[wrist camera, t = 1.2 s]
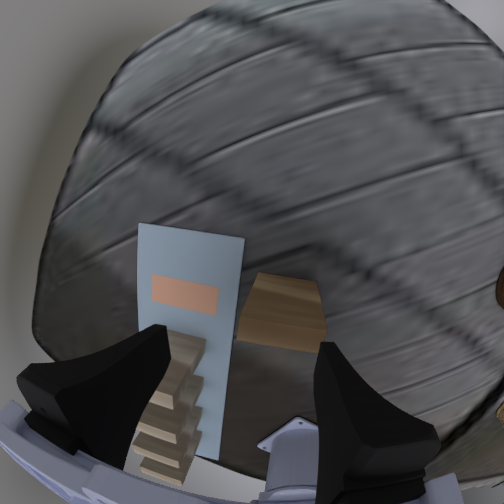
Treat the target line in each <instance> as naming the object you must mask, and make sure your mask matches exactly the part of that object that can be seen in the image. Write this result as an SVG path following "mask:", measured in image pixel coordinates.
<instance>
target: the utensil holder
mask: <svg viewBox="0 0 504 504" xmlns="http://www.w3.org/2000/svg"><path fill="white" fill-rule="evenodd" d="M496 294H497V300H498V303H499V305H500V306H501V307H502V308H503V309H504V269H503V271H502V273H501V275H500V277H499V280H498V284H497V292H496Z"/></svg>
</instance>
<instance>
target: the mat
mask: <svg viewBox="0 0 504 504" xmlns="http://www.w3.org/2000/svg"><path fill="white" fill-rule="evenodd" d="M244 246H245V238H242V237H236V236H229V235H223V234H216V233H210V232H203V231H197V230H190V229H183V228H177V227H170V226H163V225H156V224H149V223H142V222H140V223H139V229H138V260H137V288H138V319H139V332H140V331H142V330H144V329H145V328H147V327H149V326H151V325H153V324H160V325H166V326H167V329H169V330H172V331H176V332H180V333H184V334H188V335H192V336H196V337H200V338H204V339H206V350H205V354H204V356H203V357H202V359H201V361H200V363H199V365H198V366H197V368H196V370H195V372H194V375H198V376H201V377H204V386H203V390H202V392H201V394H200V396H199V398H198V400H197V402H196V404H195V405H196V406H200V407H203V411H202V418H201V420H200V422H199V425H198V427H197V429H196V430H200V431H202V438H201V441H200V443H199V446H198V448H197V451H196V453H195V454H196V455H200V456H203V457H207V458H211V459H215V460H218V459H219V453H220V444H221V435H222V426H223V417H224V408H225V400H226V391H227V383H228V374H229V366H230V357H231V349H232V341H233V333H234V325H235V316H236V308H237V300H238V292H239V285H240V277H241V269H242V261H243V253H244Z"/></svg>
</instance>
